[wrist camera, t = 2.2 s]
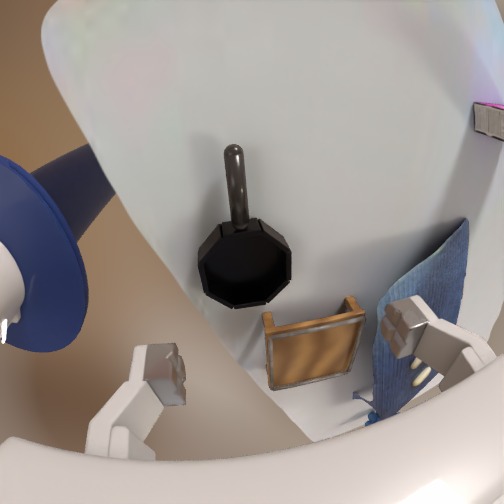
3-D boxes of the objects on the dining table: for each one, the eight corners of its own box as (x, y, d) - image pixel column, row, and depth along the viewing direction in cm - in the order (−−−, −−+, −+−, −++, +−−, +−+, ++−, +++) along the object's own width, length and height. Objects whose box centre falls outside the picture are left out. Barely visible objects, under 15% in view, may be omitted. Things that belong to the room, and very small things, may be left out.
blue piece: (320, 273, 39) (375, 312, 29) (428, 195, 44) (479, 211, 34) (353, 405, 60) (380, 433, 50) (425, 342, 65) (453, 362, 55)
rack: (264, 369, 45) (270, 392, 41) (260, 312, 38) (266, 338, 34) (341, 352, 46) (350, 373, 42) (353, 294, 39) (368, 316, 35)
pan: (207, 297, 35) (208, 313, 33) (180, 148, 25) (177, 154, 23) (285, 285, 36) (291, 300, 34) (281, 136, 26) (289, 141, 24)
